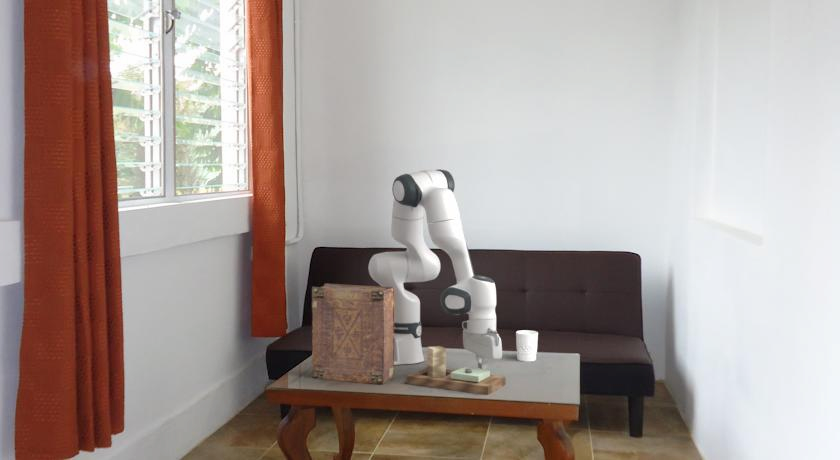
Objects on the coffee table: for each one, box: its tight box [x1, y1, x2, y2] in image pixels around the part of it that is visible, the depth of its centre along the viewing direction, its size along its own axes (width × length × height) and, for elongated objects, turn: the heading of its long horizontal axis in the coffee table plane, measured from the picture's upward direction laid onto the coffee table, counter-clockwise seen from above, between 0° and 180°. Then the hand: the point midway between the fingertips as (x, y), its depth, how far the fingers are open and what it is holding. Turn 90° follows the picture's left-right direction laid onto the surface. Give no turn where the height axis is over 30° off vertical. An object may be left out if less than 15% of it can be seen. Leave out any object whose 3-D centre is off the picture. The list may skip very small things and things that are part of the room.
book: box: [311, 283, 395, 385], centre depth 278 cm, size 25×9×30 cm, turn 70°
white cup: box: [515, 329, 539, 363], centre depth 307 cm, size 8×8×10 cm
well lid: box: [451, 366, 491, 382], centre depth 269 cm, size 10×9×3 cm
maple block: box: [426, 345, 447, 378], centre depth 274 cm, size 4×4×11 cm
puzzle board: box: [406, 367, 507, 396], centre depth 272 cm, size 28×14×2 cm, turn 62°
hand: (482, 368), depth 277 cm, fingers closed
